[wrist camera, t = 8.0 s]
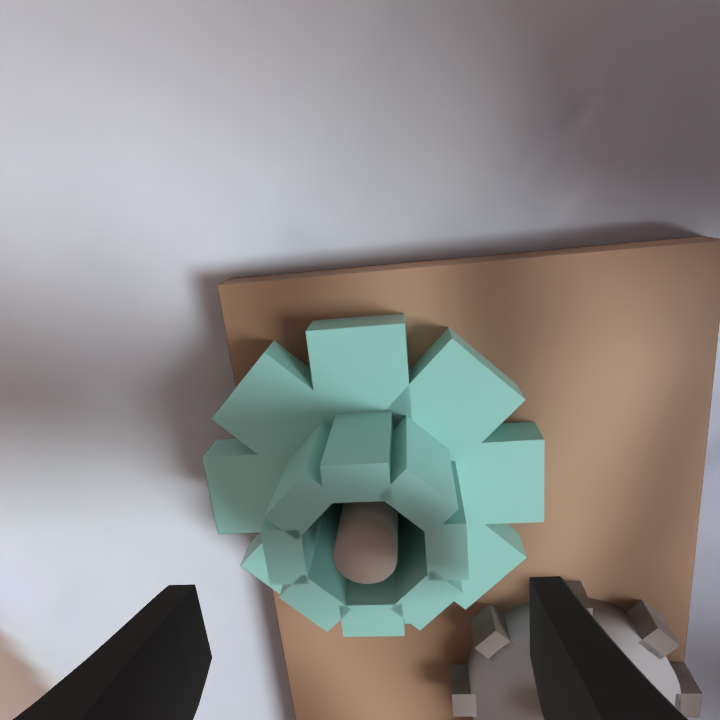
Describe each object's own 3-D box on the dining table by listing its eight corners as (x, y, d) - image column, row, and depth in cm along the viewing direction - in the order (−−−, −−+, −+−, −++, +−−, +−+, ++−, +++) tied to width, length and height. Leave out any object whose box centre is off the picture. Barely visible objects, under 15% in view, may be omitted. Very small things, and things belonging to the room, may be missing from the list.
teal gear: (534, 303, 15) (580, 345, 11) (534, 593, 18) (571, 708, 14) (193, 329, 16) (124, 377, 12) (247, 600, 19) (206, 709, 15)
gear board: (704, 235, 15) (846, 260, 10) (658, 729, 21) (736, 896, 16) (230, 278, 17) (157, 317, 12) (308, 728, 22) (280, 881, 18)
